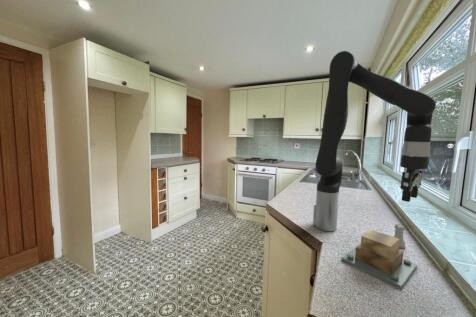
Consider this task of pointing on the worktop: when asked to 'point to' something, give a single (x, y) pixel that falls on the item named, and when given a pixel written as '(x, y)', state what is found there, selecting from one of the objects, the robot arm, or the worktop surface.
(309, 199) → the worktop surface
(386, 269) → the stepped wooden plinth
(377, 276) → the baseplate
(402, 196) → the robot arm
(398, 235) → the rook chess piece
